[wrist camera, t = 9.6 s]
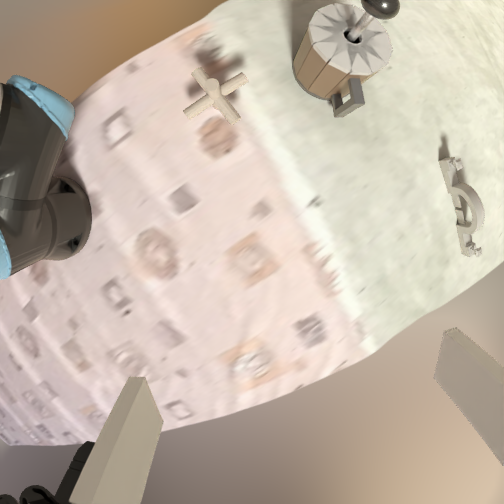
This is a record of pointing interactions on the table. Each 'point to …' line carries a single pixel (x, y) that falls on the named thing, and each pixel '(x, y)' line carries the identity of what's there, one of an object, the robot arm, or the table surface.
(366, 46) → the wooden mug
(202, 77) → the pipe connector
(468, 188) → the gateway
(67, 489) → the robot arm
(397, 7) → the plunger
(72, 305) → the table surface
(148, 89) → the table surface
